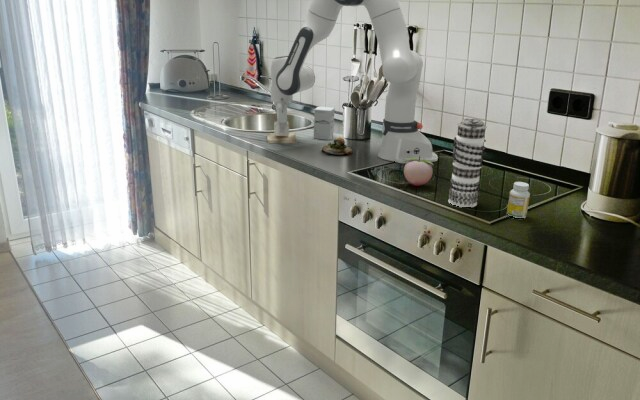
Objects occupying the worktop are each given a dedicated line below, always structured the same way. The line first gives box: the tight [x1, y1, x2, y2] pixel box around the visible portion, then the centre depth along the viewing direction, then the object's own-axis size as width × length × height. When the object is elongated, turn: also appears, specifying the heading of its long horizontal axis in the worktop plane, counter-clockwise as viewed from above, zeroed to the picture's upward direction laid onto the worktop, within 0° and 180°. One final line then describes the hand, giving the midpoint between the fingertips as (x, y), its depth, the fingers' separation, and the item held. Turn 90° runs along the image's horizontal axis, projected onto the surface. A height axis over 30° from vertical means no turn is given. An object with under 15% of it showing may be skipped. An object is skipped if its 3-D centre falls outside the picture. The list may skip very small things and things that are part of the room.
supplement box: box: [313, 106, 336, 141], centre depth 237 cm, size 7×7×13 cm
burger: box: [321, 137, 353, 157], centre depth 216 cm, size 12×12×8 cm
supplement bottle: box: [506, 181, 531, 219], centre depth 157 cm, size 5×5×10 cm
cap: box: [273, 120, 290, 136], centre depth 232 cm, size 6×6×5 cm
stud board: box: [266, 132, 298, 144], centre depth 233 cm, size 12×12×4 cm
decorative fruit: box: [403, 156, 435, 187], centre depth 179 cm, size 9×8×10 cm
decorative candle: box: [447, 118, 488, 208], centre depth 164 cm, size 9×9×25 cm
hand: (281, 130), depth 233 cm, fingers closed on cap, 6 cm apart
